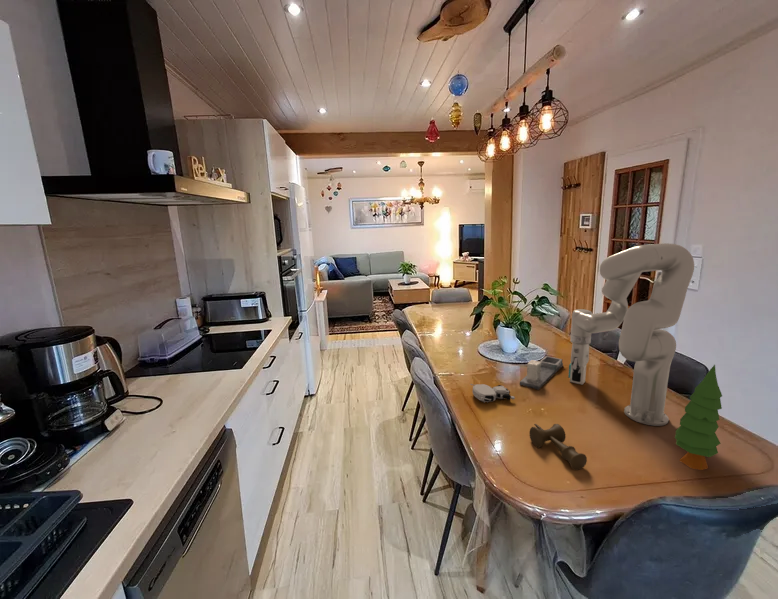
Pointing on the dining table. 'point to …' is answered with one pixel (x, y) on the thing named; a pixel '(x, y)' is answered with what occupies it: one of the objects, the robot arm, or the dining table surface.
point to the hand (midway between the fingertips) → (577, 378)
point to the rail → (541, 371)
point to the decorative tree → (700, 423)
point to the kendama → (558, 444)
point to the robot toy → (490, 392)
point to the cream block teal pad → (582, 371)
